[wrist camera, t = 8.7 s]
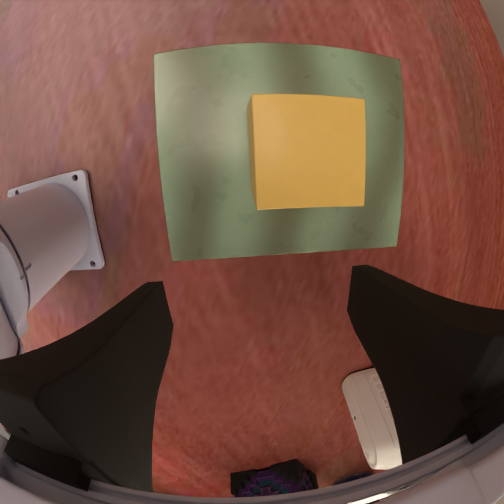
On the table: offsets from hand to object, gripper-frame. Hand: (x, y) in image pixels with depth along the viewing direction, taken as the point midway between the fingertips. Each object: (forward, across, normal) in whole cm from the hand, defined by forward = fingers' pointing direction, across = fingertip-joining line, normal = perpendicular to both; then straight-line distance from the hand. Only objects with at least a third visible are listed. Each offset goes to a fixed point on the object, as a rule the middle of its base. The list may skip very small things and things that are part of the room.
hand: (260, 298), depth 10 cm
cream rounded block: (+10, -14, +19) cm, 26 cm away
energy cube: (+10, -2, +47) cm, 48 cm away
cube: (+6, -2, -5) cm, 8 cm away
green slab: (+10, -2, -5) cm, 12 cm away
